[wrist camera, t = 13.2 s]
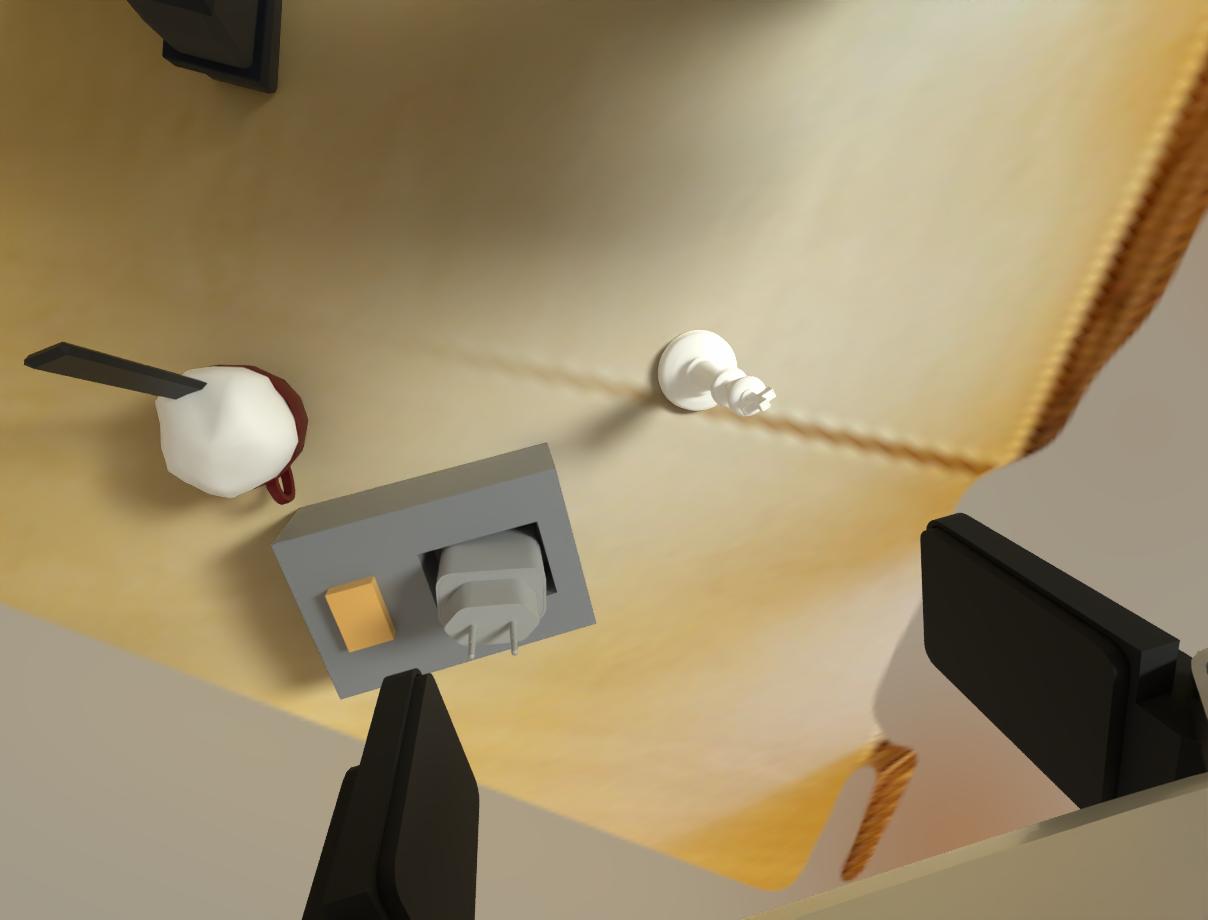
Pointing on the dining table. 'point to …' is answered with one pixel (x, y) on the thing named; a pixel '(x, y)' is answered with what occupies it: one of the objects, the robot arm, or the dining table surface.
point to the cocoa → (206, 418)
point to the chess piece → (709, 376)
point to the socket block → (421, 564)
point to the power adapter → (492, 588)
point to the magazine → (219, 37)
